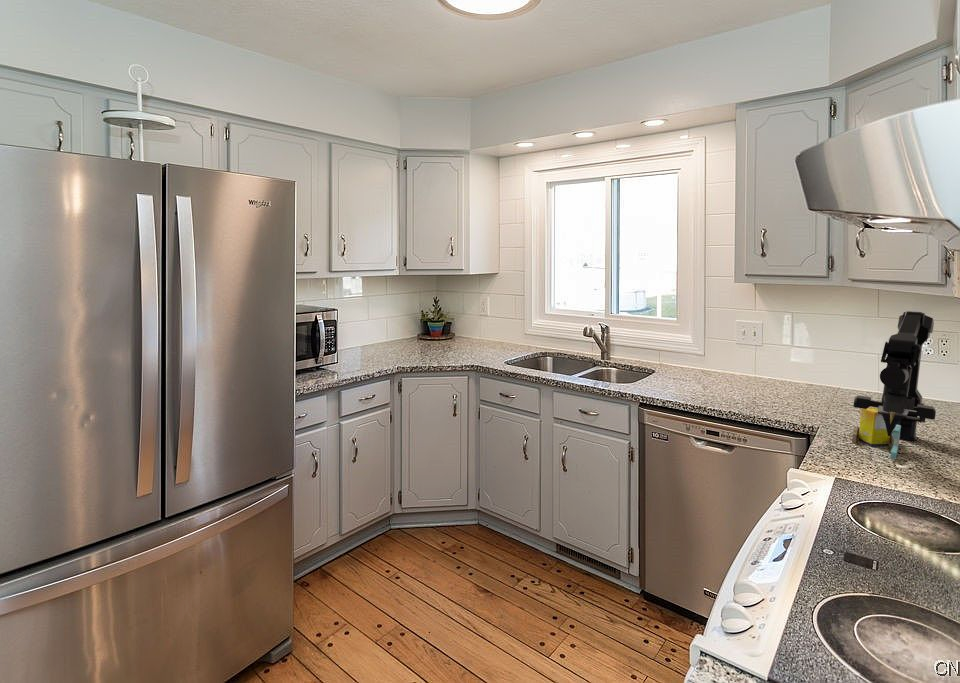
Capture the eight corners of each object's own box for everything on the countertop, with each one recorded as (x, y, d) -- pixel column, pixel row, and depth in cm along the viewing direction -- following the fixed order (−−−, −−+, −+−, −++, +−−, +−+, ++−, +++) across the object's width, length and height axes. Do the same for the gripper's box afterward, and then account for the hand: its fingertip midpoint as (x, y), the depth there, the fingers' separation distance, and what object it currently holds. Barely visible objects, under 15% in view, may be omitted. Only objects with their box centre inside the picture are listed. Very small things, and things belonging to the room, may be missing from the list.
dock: (853, 435, 186) (854, 426, 185) (894, 442, 179) (895, 433, 179) (851, 443, 178) (852, 433, 177) (894, 450, 172) (896, 440, 171)
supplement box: (875, 440, 181) (879, 407, 179) (889, 446, 175) (893, 412, 173) (857, 440, 181) (861, 407, 179) (871, 446, 175) (875, 412, 173)
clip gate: (890, 458, 162) (893, 431, 161) (892, 450, 170) (896, 424, 169) (895, 459, 162) (898, 432, 160) (897, 451, 169) (901, 425, 168)
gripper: (856, 381, 159) (848, 435, 162) (940, 393, 149) (931, 450, 151) (858, 376, 168) (850, 427, 170) (938, 386, 158) (929, 441, 160)
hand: (888, 436), depth 163 cm, fingers closed
